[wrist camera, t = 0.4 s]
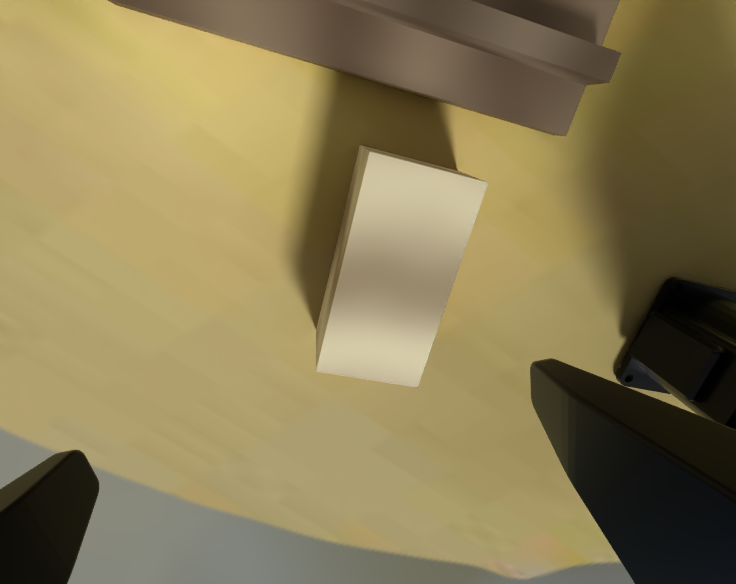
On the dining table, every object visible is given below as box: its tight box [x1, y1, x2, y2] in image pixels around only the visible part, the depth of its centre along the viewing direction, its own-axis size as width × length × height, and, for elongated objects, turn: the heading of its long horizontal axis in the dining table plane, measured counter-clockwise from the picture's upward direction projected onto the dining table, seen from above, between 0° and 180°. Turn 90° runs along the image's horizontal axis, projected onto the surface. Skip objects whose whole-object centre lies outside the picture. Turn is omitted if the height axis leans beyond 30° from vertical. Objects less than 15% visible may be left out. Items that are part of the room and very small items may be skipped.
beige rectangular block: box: [316, 145, 488, 387], centre depth 19 cm, size 9×4×4 cm, turn 166°
